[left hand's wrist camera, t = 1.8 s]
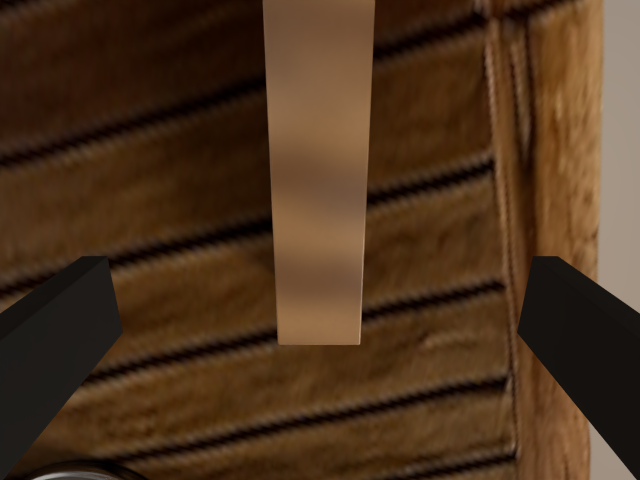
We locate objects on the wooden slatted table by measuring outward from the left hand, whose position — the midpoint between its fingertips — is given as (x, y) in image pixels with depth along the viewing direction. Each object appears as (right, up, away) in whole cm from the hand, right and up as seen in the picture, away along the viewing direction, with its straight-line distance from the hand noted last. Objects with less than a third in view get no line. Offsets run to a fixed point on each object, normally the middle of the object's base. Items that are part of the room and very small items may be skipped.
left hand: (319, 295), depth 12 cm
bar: (0, +23, +6) cm, 24 cm away
